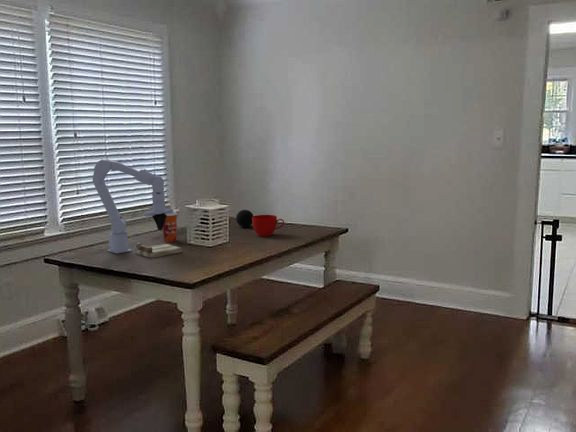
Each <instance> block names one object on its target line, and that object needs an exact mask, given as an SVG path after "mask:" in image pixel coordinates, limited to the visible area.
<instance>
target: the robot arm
mask: <svg viewBox="0 0 576 432" xmlns="http://www.w3.org/2000/svg"><path fill="white" fill-rule="evenodd" d="M110 171H111V172H117V171H119V172H122V173H124V174H127V175H128V176H129V175H130V176H132V177H134V178H135V180H136V181H137V182H139V183H142V184H144V185H148V186H151V188H152V192H151V196H152V197H151V198H152V199H151V200H152V210H150V211H145V212H144V217H146V218H147V217H152V219H153V220H154V222H155V225H156V228H157V230H158V231H163V224H164V221H165V219H166V217H167V215H165V214H168V213H174V211H175V210H174V208H166V198H165V187H164V185H165V179H164V178H163V177H162V176H161V175H158V174H156V173H152V172H150V171H147V169H145V168H143V169H142V168H140V169H135V168H133V167H130V166H128V165H126V164H123V163H122V162H119V161H116V160H112V159H109V158H106V157H105V158H101V159H100V160H98V161H97V162H96V164H95V166H94V169H93V175H92V184H93V185H94V188H95V190H96V192H97V194H98V196H99V198H100V201H101V202H102V204H103V207H104V209H105V211H106V213H107V216H108V218H109V222H110V228H111V232H110V233H109V234H108V248H109V249H107V251H108V252H111V253H114V254H122V253H127V252H128V253H129V252H132V251H133V249H130V248H129V240H128V230H126V227H127V221H126V219H125V218H123V217H122V215H121V213H120V211H119V210H118V208H117V205H116V204H115V201H114V199H113V197H112V195H111V192H110V191H109V188H108V186H107V184H106V182H105V179H106V177H107V175H108V174H109V173H110Z"/></svg>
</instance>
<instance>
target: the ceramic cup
mask: <svg viewBox="0 0 576 432" xmlns="http://www.w3.org/2000/svg"><path fill="white" fill-rule="evenodd" d="M277 217H278V216H277V215H274V214H258V215H253V217H252V227H253V229H254V232H255V233H256V234H257V236H259V237H271V236H272V235H273V233H274V232H275V230H280V229H281V228H282V227H283V226H284V224H285V220H284V219H282V218H278V219H277ZM280 221H282V224H281V225H280V226H278V227H277V224H278V222H280Z"/></svg>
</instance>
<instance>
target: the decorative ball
mask: <svg viewBox="0 0 576 432" xmlns="http://www.w3.org/2000/svg"><path fill="white" fill-rule="evenodd" d="M253 216H254V214H253V213H252V212H251V211H250V209H249V210H248V209H242V210H240V211H238V213H236V217H235V219H236V223H237V225H238V226H239V227H241V228H249V227H251V226H253V223H252V217H253Z"/></svg>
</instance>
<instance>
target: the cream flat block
mask: <svg viewBox="0 0 576 432" xmlns="http://www.w3.org/2000/svg"><path fill="white" fill-rule="evenodd" d="M149 247H152V252H149V253H148V252H145V251H142V250H139V249H137V248H135V250H134V251H135V254H137V255H140V256H144V257H147V258H149V259H153V258H158V257H163V256H169V255H173V254H179V253H182V247H180V246H179V247H178V246H176V245H172V244H168V243H161V244H157V245H151V246H149Z"/></svg>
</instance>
